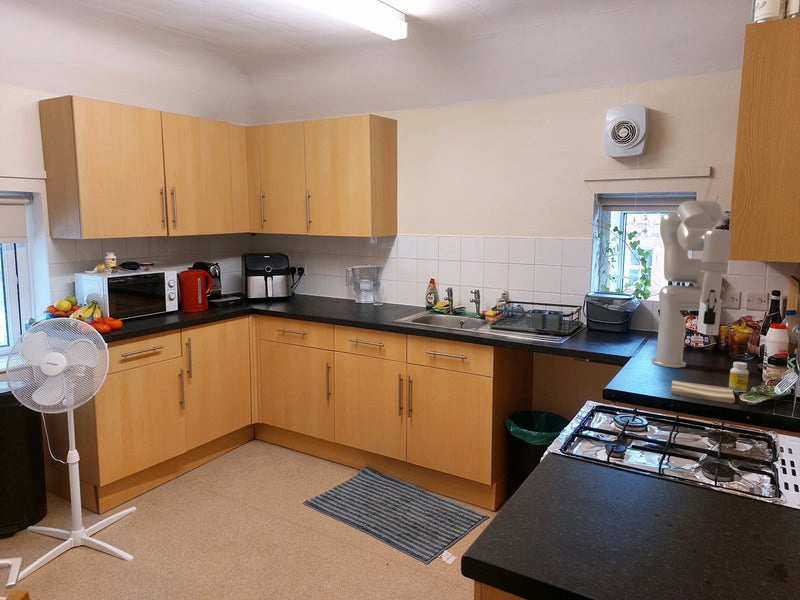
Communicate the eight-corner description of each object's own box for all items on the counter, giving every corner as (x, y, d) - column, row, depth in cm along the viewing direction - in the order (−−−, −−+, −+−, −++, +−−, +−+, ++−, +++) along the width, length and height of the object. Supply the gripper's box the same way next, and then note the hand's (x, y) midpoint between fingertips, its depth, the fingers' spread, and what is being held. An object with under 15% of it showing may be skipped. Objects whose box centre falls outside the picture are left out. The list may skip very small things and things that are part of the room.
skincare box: (718, 335, 189) (722, 298, 187) (705, 335, 189) (709, 298, 188) (709, 332, 195) (713, 296, 193) (696, 331, 195) (700, 295, 194)
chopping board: (671, 384, 203) (672, 380, 203) (731, 392, 195) (731, 388, 195) (670, 394, 190) (671, 390, 190) (734, 403, 183) (734, 399, 182)
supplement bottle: (739, 388, 201) (742, 361, 200) (750, 393, 196) (753, 365, 194) (724, 388, 200) (727, 361, 199) (735, 393, 195) (738, 365, 194)
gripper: (700, 265, 199) (695, 317, 201) (701, 269, 183) (695, 325, 185) (725, 267, 195) (720, 320, 198) (729, 270, 180) (722, 327, 182)
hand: (708, 322), depth 192 cm, fingers closed on skincare box, 7 cm apart
